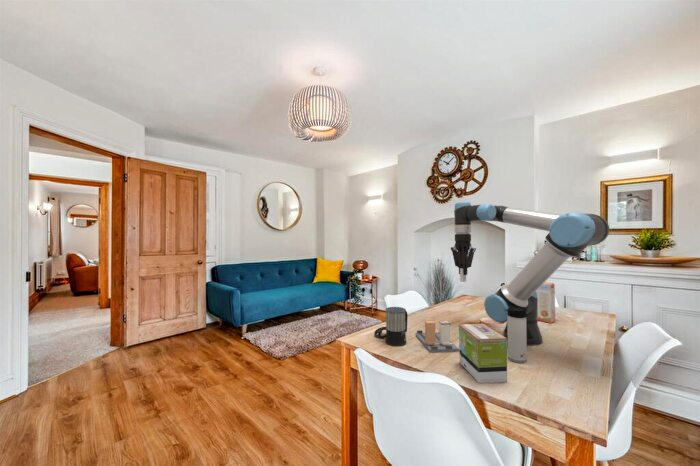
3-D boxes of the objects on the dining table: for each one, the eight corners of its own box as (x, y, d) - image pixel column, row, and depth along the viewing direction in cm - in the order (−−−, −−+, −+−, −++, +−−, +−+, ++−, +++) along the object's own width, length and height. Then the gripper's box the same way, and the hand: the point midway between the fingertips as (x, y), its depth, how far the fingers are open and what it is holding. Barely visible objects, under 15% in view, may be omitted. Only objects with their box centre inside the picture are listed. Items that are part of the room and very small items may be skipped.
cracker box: (555, 321, 157) (555, 283, 157) (550, 323, 154) (550, 284, 154) (527, 315, 169) (527, 279, 169) (522, 317, 165) (522, 280, 165)
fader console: (415, 335, 138) (415, 312, 138) (440, 334, 139) (439, 312, 139) (430, 352, 118) (429, 326, 118) (458, 351, 119) (458, 325, 119)
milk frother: (404, 347, 123) (404, 312, 123) (368, 343, 129) (368, 309, 129) (409, 336, 137) (409, 304, 137) (376, 332, 142) (376, 302, 142)
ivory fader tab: (439, 342, 124) (439, 321, 124) (447, 342, 125) (447, 321, 125) (441, 345, 121) (441, 323, 121) (450, 345, 122) (450, 323, 122)
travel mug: (527, 365, 106) (527, 310, 106) (507, 361, 110) (506, 308, 110) (527, 358, 111) (527, 306, 112) (508, 355, 115) (507, 304, 115)
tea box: (458, 363, 109) (457, 323, 109) (484, 362, 109) (484, 322, 109) (478, 384, 93) (477, 337, 94) (508, 382, 94) (508, 336, 94)
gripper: (479, 233, 141) (479, 282, 141) (456, 233, 152) (456, 279, 151) (469, 233, 136) (470, 284, 136) (446, 233, 147) (447, 280, 147)
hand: (463, 281), depth 144 cm, fingers closed
